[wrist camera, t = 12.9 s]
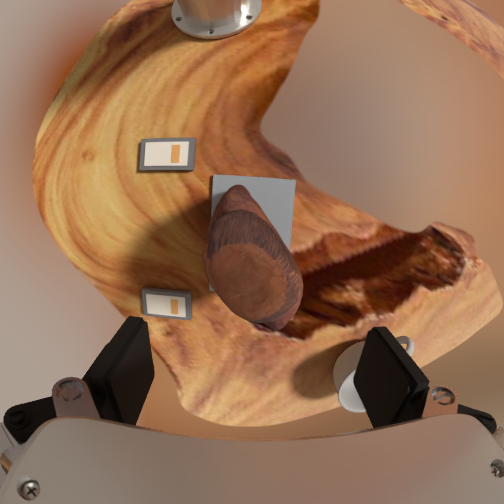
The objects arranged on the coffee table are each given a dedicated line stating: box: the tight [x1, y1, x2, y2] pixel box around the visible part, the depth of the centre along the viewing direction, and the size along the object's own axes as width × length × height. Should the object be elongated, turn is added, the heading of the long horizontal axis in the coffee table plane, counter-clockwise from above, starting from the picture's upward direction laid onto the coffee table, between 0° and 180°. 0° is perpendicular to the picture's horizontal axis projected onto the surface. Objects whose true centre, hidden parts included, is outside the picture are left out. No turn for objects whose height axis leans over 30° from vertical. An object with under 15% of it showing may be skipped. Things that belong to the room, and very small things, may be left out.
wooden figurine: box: [203, 184, 303, 330], centre depth 25 cm, size 12×6×18 cm, turn 32°
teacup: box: [333, 336, 414, 412], centre depth 36 cm, size 14×11×8 cm
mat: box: [209, 175, 296, 291], centre depth 35 cm, size 15×10×1 cm, turn 176°
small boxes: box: [139, 138, 196, 320], centre depth 34 cm, size 24×7×1 cm, turn 176°
